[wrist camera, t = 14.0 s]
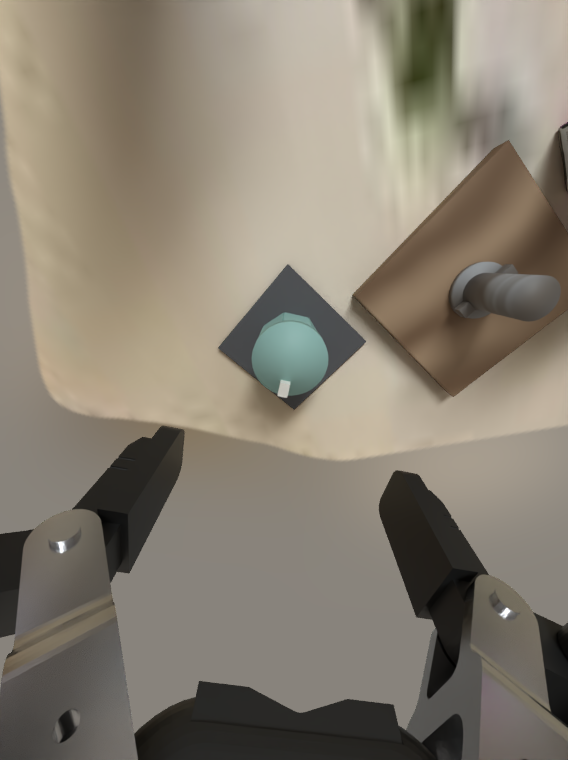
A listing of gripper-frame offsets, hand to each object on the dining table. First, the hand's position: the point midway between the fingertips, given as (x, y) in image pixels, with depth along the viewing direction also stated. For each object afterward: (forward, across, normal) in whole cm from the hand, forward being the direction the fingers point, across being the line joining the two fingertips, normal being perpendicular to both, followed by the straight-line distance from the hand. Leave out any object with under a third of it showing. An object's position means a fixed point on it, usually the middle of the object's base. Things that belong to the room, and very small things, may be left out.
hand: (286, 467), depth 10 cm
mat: (+17, 0, 0) cm, 17 cm away
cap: (+17, 0, 0) cm, 17 cm away
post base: (+17, -14, -8) cm, 24 cm away
